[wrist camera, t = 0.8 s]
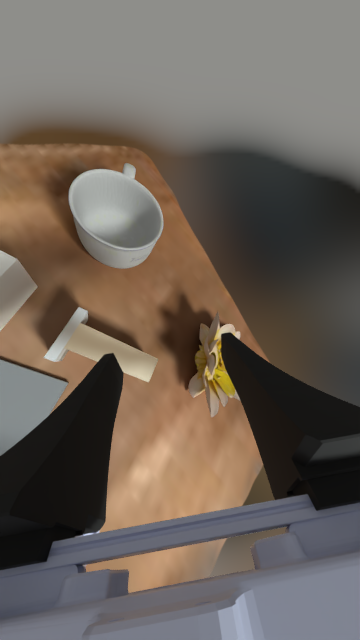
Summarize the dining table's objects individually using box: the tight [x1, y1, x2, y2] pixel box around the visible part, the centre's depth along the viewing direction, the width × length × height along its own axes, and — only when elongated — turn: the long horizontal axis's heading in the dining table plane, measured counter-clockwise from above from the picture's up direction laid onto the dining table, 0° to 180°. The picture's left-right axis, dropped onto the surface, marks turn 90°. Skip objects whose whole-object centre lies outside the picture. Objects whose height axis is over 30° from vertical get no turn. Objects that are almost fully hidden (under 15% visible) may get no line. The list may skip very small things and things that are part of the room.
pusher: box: [44, 307, 158, 382], centre depth 22 cm, size 6×11×5 cm, turn 67°
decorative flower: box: [189, 312, 241, 417], centre depth 27 cm, size 15×11×10 cm
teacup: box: [69, 163, 163, 269], centre depth 24 cm, size 14×11×8 cm
